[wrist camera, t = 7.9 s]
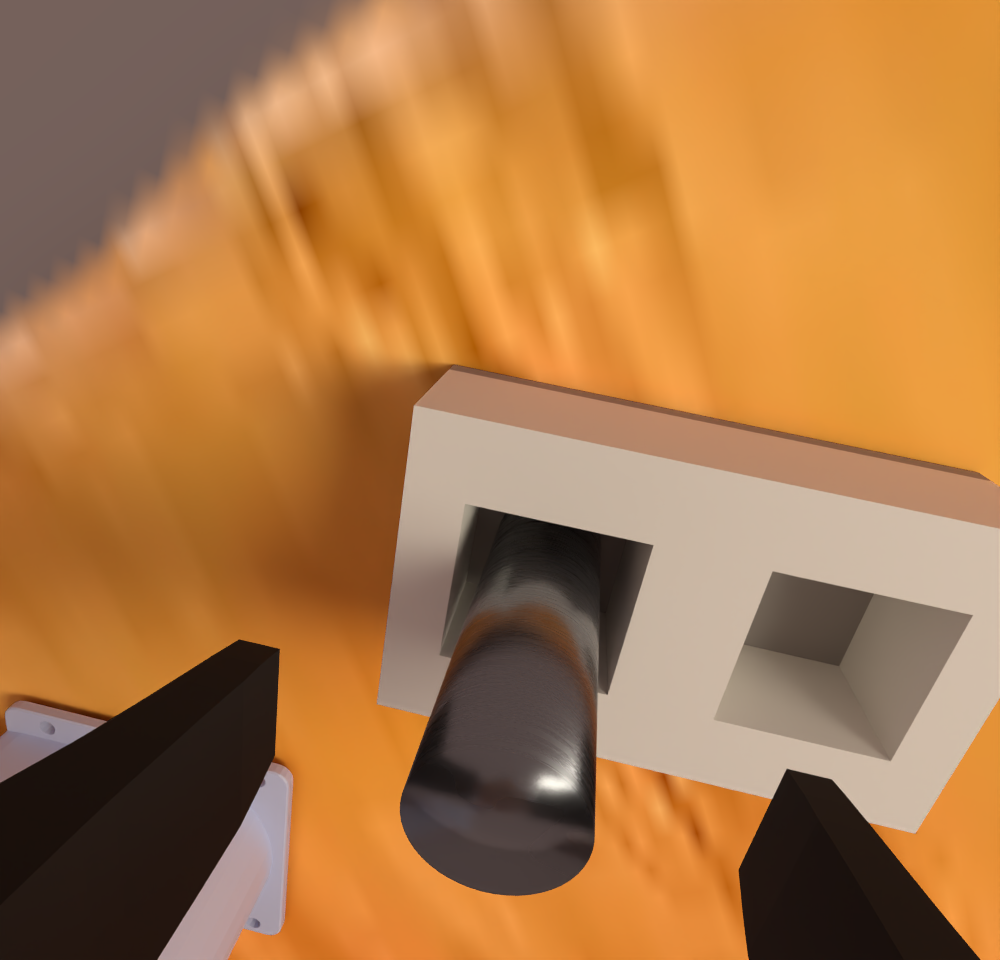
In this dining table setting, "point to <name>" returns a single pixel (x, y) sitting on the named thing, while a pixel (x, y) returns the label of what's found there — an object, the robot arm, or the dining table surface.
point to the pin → (516, 721)
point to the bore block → (719, 586)
